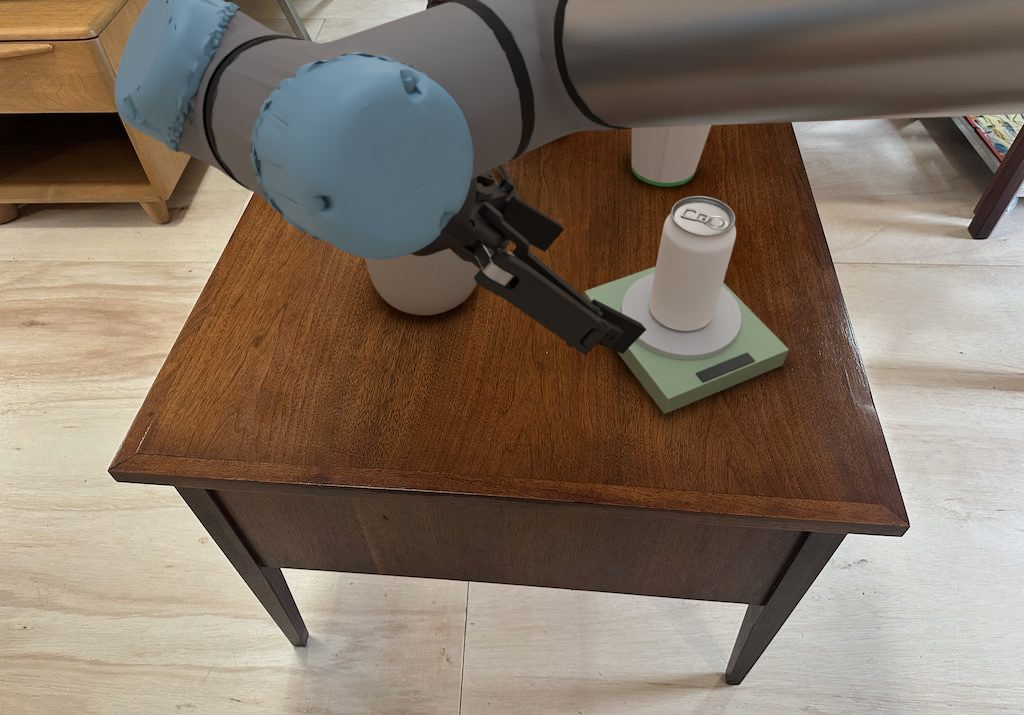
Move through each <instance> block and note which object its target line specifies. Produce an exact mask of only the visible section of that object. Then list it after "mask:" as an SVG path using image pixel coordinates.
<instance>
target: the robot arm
mask: <svg viewBox="0 0 1024 715" xmlns="http://www.w3.org/2000/svg"><path fill="white" fill-rule="evenodd" d="M113 95H114V104H115V108H116V110H117V113H118V115H119V117H120V118H121V119H122V121H123V122H124V123H125V124H127V125H128V126H129V127H130V128H132V129H133V130H136V131H138V132H140V133H141V134H143V135H145V136H148V137H150V138H151V139H153V140H155V141H158V142H160V143H161V144H164V145H165V146H166V147H167V149H168V150H169V151H172V152H175V153H180V152H181V153H184V154H185V155H187V156H189V157H192V158H194V159H196V160H199V161H201V162H203V163H205V164H208V165H209V166H211V167H213V168H215V169H217V170H219V171H220V172H221V173H223V174H224V175H225V176H227V177H228V178H230V179H231V180H232V181H233V182H235V183H237V184H238V185H240V186H241V187H243V188H244V189H246V190H248V191H251V192H252V193H254V194H255V195H257V196H258V197H259V198H261V199H262V200H263V201H265V203H268V204H269V205H270V207H271V209H273V210H274V211H275V212H277V213H279V214H280V215H281V217H282V218H283V219H284V220H285V222H286V223H287V224H290V225H291V226H293V228H296V230H299V232H302V233H306V234H307V235H309V237H311V238H313V239H316V240H318V241H324V242H327V244H330V245H331V246H333V247H335V248H336V249H339V250H340V251H343V252H345V253H347V254H350V255H352V256H355V257H359V258H363V259H365V258H369V259H391V258H397V257H401V256H405V255H408V254H412V255H415V256H428V255H432V254H435V253H437V252H440V251H443V250H446V249H451V250H452V251H453V252H454V253H455V254H456V255H457V256H459V257H460V258H461V259H462V260H464V261H466V262H471V263H473V264H474V265H475V266H476V267H478V268H479V269H480V270H479V271H478V273H477V274H476V275H475V276H474V279H475V281H476V282H477V284H476V285H478V286H479V287H481V288H483V289H485V290H487V291H488V292H491V293H493V294H494V295H497V296H498V297H501V298H502V299H504V300H505V301H507V303H510V304H511V305H513V306H514V307H515V308H517V309H518V310H519V311H521V312H522V313H524V314H526V315H527V316H528V317H530V318H531V319H533V320H534V321H535V322H537V323H538V324H540V325H541V326H542V327H543V328H545V329H547V330H548V331H549V332H551V333H552V334H554V335H555V336H557V337H558V338H560V340H563V341H564V342H565V343H566V344H565V345H566V346H567V347H570V348H574V349H575V350H577V351H578V352H579V353H580V354H582V355H585V356H587V355H588V354H589V353H590V352H591V351H592V350H593V349H594V348H595V347H596V346H597V345H601V346H603V347H605V348H608V349H610V350H612V351H615V352H616V353H618V352H619V353H621V354H623V353H624V352H625V351H626V350H627V349H628V348H629V347H630V346H631V345H632V344H633V343H634V342H635V341H636V340H637V339H638V338H639V337H640V336H641V335H642V334H643V333H644V332H645V331H646V328H645V327H644V326H643V325H642V323H640V322H638V321H636V320H634V319H632V318H630V317H628V316H626V315H624V314H622V313H620V312H618V311H616V310H614V309H612V308H611V307H609V306H607V305H605V304H603V303H601V302H599V301H597V300H595V299H593V301H592V302H590V301H588V300H587V299H586V298H585V297H584V294H582V293H580V292H579V291H578V290H577V289H576V288H575V287H573V286H572V285H571V284H569V282H567V281H566V280H565V279H564V278H562V277H561V276H560V275H559V274H558V273H557V272H555V271H554V270H553V269H551V268H550V267H549V266H548V265H547V264H546V263H545V262H543V261H542V260H540V259H539V258H538V256H536V255H535V254H534V253H533V252H531V251H530V250H531V249H530V246H533V247H535V248H536V249H538V250H540V251H542V252H547V250H549V248H550V247H551V246H552V244H553V243H554V242H555V241H556V240H557V239H558V237H560V235H561V234H562V233H563V231H565V228H564V227H563V226H562V224H560V223H558V221H555V220H554V219H553V218H551V217H549V216H548V215H546V214H545V213H543V212H541V211H539V210H537V209H536V208H534V207H533V206H531V205H530V204H528V203H527V202H524V201H523V200H521V199H520V198H519V199H518V198H516V197H515V196H511V194H510V193H511V192H512V191H513V190H514V188H515V189H516V186H515V185H514V183H513V182H512V183H513V184H512V183H511V182H510V181H508V180H507V179H505V178H504V179H503V178H502V180H501V181H500V182H499V183H498V184H499V185H496V186H493V185H492V184H493V182H494V181H495V179H496V178H495V176H494V174H493V173H492V172H491V171H492V170H493V169H497V168H496V167H498V166H500V165H504V164H507V163H508V162H510V161H513V160H515V159H517V158H519V157H521V156H523V155H525V154H527V153H529V152H532V151H533V150H536V149H539V148H540V147H542V146H544V145H546V144H549V143H552V142H554V141H556V140H558V139H560V138H562V137H565V136H568V135H571V134H574V133H580V132H589V131H590V132H591V131H593V132H594V131H616V130H617V131H618V130H632V128H645V127H674V126H702V125H711V126H725V125H726V126H727V125H754V124H757V125H758V124H781V123H784V124H785V123H809V122H837V121H838V122H839V121H840V122H841V121H864V120H865V121H866V120H868V121H869V120H893V119H896V120H897V119H898V120H899V119H923V118H951V117H952V118H953V117H976V116H977V117H979V116H982V117H983V116H1008V115H1024V0H450V1H448V2H445V3H441V4H439V5H436V6H435V5H434V6H432V7H430V8H426V9H424V10H421V11H417V12H415V13H411V14H409V15H406V16H402V17H400V18H399V17H398V18H397V19H394V20H390V21H387V22H384V23H382V24H379V25H375V26H372V27H370V28H367V29H364V30H360V31H358V32H355V33H352V34H349V35H347V36H346V35H345V36H343V37H341V38H338V39H334V40H330V41H327V42H326V41H325V42H317V41H312V40H308V39H304V38H299V37H296V36H292V35H289V34H285V33H281V32H277V31H275V30H273V29H271V28H269V27H267V26H266V25H264V24H262V23H261V22H259V21H257V20H255V19H254V18H252V17H250V16H249V15H247V14H245V12H243V11H241V7H240V6H238V5H237V4H236V3H234V2H231V1H227V2H226V1H225V0H148V1H147V3H146V4H145V5H144V7H143V9H142V10H141V12H140V13H139V15H138V17H137V19H136V21H135V22H134V25H133V26H132V29H131V31H130V34H129V36H128V39H127V41H126V43H125V46H124V49H123V51H122V54H121V56H120V60H119V64H118V68H117V72H116V76H115V82H114V94H113ZM488 171H490V172H491V173H492V174H491V173H489V172H488ZM493 176H494V177H493ZM494 178H495V179H494ZM509 196H511V198H510V197H509ZM508 197H509V198H510V199H509V198H508ZM510 242H511V243H512V244H514V245H515V248H513V250H512V251H510V250H508V251H507V250H506V249H507V247H508V246H509V244H510Z"/></svg>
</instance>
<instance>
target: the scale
mask: <svg viewBox="0 0 1024 715" xmlns="http://www.w3.org/2000/svg"><path fill="white" fill-rule="evenodd" d="M655 269H656V265H655V266H652V267H649V268H646V269H644V270H642V271H638V272H635V273H633V274H629V275H626V276H624V277H621V278H618V279H614V280H612V281H609V282H606V283H604V284H601V285H598V286H595V287H592V288H590V289H586V290H584V291H583V296H584V297H585V298H586V299H587V300H588V301H590V302H592V301H593V299H595V300H597V301H599V302H601V303H603V304H605V305H607V306H609V307H611V308H612V309H614V310H616V311H618V312H620V313H622V314H624V315H626V316H628V317H630V318H632V319H634V320H636V321H638V322H640V323H642V325H643V326H644V327H645V328H646V331H645V332H644V333H643V334H642V335H641V336H640V337H639V338H638V339H637V340H636V341H635V342H634V343H633V344H632V345H631V346H630V347H629V348H628V349H627V350H626V351H625V352H624V353H623V354H621V353H619V352H617V354H618V356H619V357H620V358H621V359H622V361H623V362H624V363H625V364H626V366H627V367H628V368H629V370H630V372H632V374H633V375H634V376H635V378H636V379H637V380H638V382H639V383H640V384H641V385H642V387H643V388H644V389H645V391H646V393H648V395H649V396H650V397H651V399H652V400H653V401H654V403H655V404H656V405H657V406H658V408H659V410H661V412H662V413H663V414H664V415H667V414H668V413H671V412H674V411H675V410H678V409H680V408H683V407H685V406H688V405H690V404H692V403H694V402H697V401H700V400H702V399H706V398H707V397H709V396H712V395H715V394H717V393H719V392H721V391H724V390H726V389H729V388H731V387H734V386H735V385H739V384H741V383H743V382H746V381H748V380H750V379H753V378H755V377H758V376H760V375H763V374H765V373H768V372H771V370H775V369H777V368H779V367H782V366H783V365H784V362H785V361H786V358H787V356H788V353H789V352H790V350H789V348H788V347H787V346H786V345H785V344H784V343H783V342H782V340H780V339H779V338H778V337H777V336H776V335H775V333H774V332H772V331H771V329H769V327H767V325H766V324H764V322H763V321H761V319H760V318H759V317H758V316H757V315H756V314H755V313H754V312H753V311H752V310H751V308H749V307H748V306H747V305H746V304H745V303H744V302H743V301H742V300H741V299H740V298H739V297H738V296H737V295H736V294H735V293H734V292H733V291H732V289H730V287H729V286H728V285H726V284H725V282H723V284H722V288H721V291H720V294H719V298H718V301H717V304H716V308H715V311H714V314H713V317H712V319H711V321H710V322H709V323H708V324H707V325H706V326H704V327H702V328H700V329H696V330H693V331H677V330H673V329H670V328H667V327H665V326H664V325H662V324H661V323H659V322H658V321H657V320H656V319H655V318H654V316H653V315H652V313H651V311H650V307H649V303H650V296H651V290H652V285H653V279H654V274H655Z"/></svg>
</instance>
